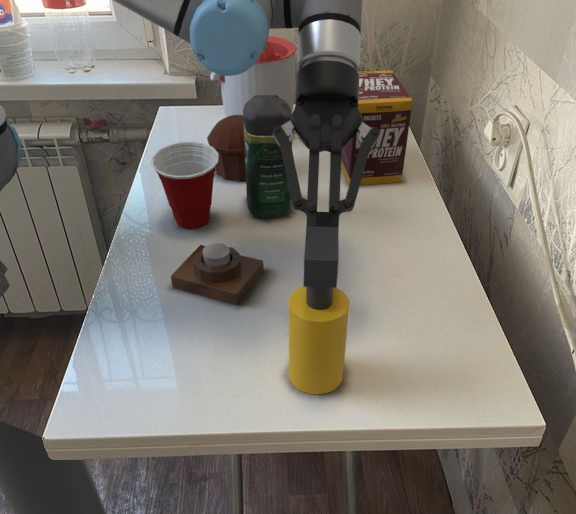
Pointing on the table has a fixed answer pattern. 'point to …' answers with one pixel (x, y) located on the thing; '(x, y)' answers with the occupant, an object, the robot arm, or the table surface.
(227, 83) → the citrus juicer
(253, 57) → the robot arm
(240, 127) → the muffin
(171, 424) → the table surface
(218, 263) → the button
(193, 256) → the button box
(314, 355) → the spray bottle
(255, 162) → the coffee jar
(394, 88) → the supplement box
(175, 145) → the plastic cup
